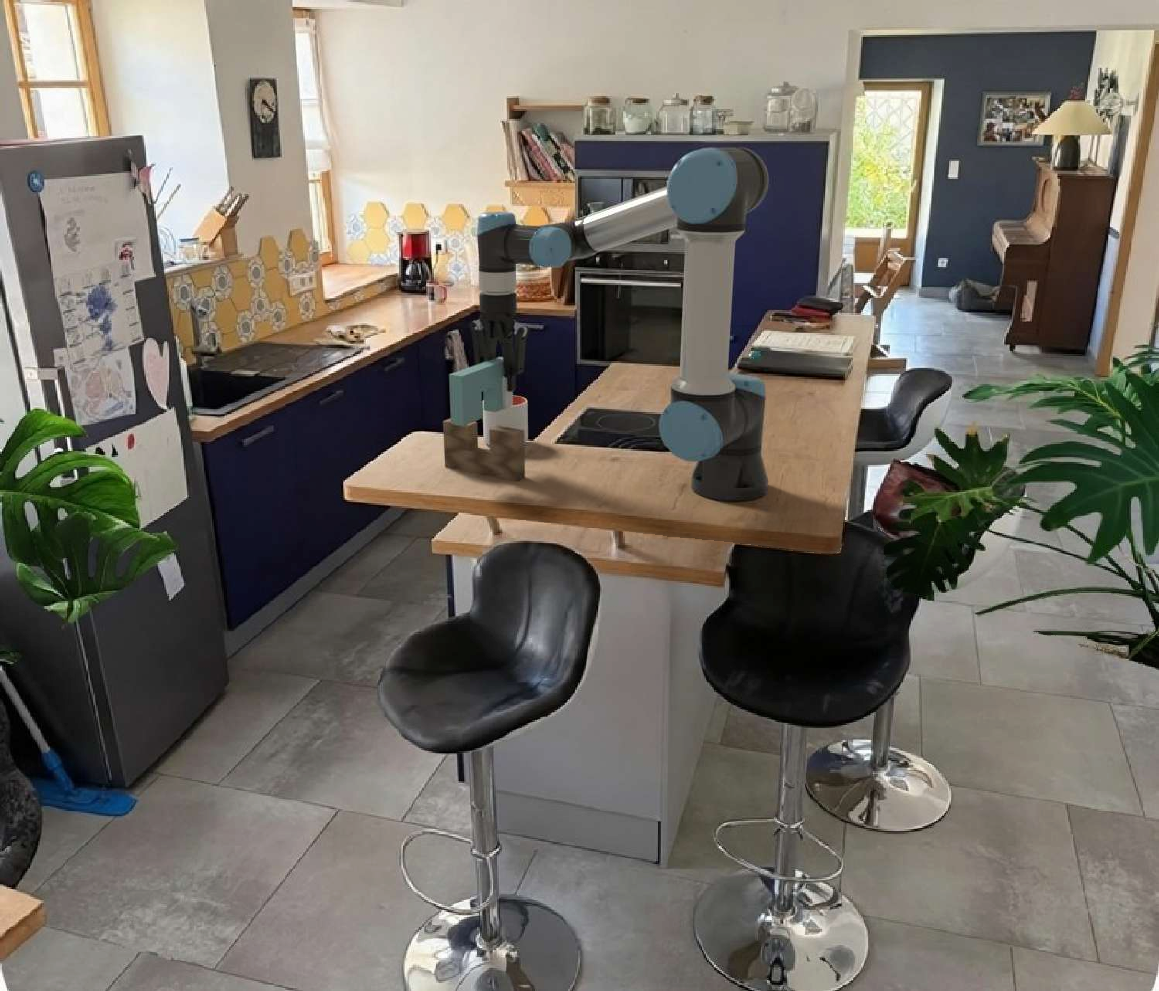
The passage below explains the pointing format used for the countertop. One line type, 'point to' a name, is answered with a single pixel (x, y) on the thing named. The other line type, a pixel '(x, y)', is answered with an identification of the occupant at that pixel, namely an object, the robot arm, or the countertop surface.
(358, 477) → the countertop surface
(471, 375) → the teal arch piece
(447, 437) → the u-notched wood block
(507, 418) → the cup
